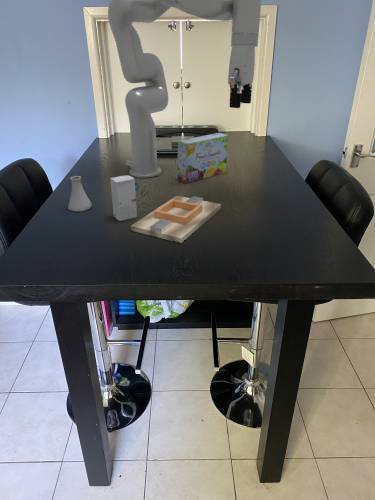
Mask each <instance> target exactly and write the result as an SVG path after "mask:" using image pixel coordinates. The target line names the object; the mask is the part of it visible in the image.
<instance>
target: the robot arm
mask: <svg viewBox="0 0 375 500" xmlns="http://www.w3.org/2000/svg"><path fill="white" fill-rule="evenodd" d="M261 7H262V0H110V1H109V4H108V9H107V17H108V18H107V19H108V23H109V26H110V30H111V33H112V35H113V38H114V42H115V45H116V51H117V54H118V58H119V64H120V67H121V72H122V75H123V77H124V79H125V81H126V82H128V83H130V84H141V83H143V84H144V86H137V87H134V88H132V89H130V90H129V91H128V92H127V93H126V95H125V97H124V98H125V101H124V102H125V108H126V112H127V115H128V121H129V130H130V133H129V134H130V141H131V142H130V145H131V158H132V159H127V160H126V162H125V166H127V167H130V169H129V171H128V172H129V176H131V177H133V178H134V177H135V178H139V179H140V178H143V179H144V178H145V179H146V178H153V177H157V176H159V175H160V174H162V168H160V167H159V166H158V159H157V158H158V157H157V156H158V155H157V152H158V151H157V135H156V134H157V133H156V131H157V130H156V124H155V121H154V119H153V117H152V114H154V113H158V112H162V111H164V110H166V108H167V106H168V105H169V91H168V86H167V82H166V77H165V75H166V74H165V71H164V66H163V63H162V61H161V60H160V58H159V57H158V56H157V55H156V54H154V53H150V52H144V51H143V47H142V42H141V38H140V36H139V34H138V32H137V30H136V28H135V27H134V25H133V23H146V24H148V23H153V22H155V21H157V20H158V19H160V18H161V17H162V16H163V15H164V14H165V13H166V12H167V11H168V10H169V9H171V8H174V9H177V10H179V11H182V12H183V13H186V14H188V15H191V16H194V17H198V18H200V19H203V20H207V21H220V22H229V21H231V40H230V47H231V50H230V56H229V64H228V65H229V66H228V77H227V83H228V85H229V108H231V109H241V104H248V105H249V104H251V102H252V92H253V90H252V89H253V82H254V77H255V66H256V63H255V62H256V61H255V58H256V48H257V47H258V46H259V33H260V31H259V30H260V21H261V11H262V10H261V9H262V8H261Z"/></svg>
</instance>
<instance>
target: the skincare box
mask: <svg viewBox="0 0 375 500" xmlns="http://www.w3.org/2000/svg"><path fill="white" fill-rule="evenodd" d="M109 182H110V189H111V190H110V191H111V200H112V212H113V217H114V218H115V219H116V220H117V221H118V222H121V221H122V222H123V221H126V220H130V219H135V218H137V217H138V214H137V213H138V212H137V211H138V210H137V197H136V191H135V188H136V185H135V183H136V181H135V178H134V176H132V175H130V174H127V175H120V176H115V177H110V179H109Z"/></svg>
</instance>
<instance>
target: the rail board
mask: <svg viewBox="0 0 375 500" xmlns="http://www.w3.org/2000/svg"><path fill="white" fill-rule="evenodd" d="M221 209H222V204H221V203H216V202H212V201H208V200H206V201H205V200H204V198H203V197H200V196H199V197H198V196H191V197H186V196H180V195H175V196H174V197H172V198H171V199H169V200H168V201H166V202H165V203H163V204H162V205H160V206H158V207H157V208H155V209H154V210H153V211H151V212H150V213H148V214H147V215H145V216H143V217H142V218H140V219H139V220H137V221H136V222H134V223H133V224H131V225H130V231H131V232H135V233H138V234H139V233H140V234H143V235H146V236H151V237H155V238H158V239H163V240H167V241H171V242H174V241H175V243H178V242H179V243H178V244H182V243H183V242H185V241H184V240H188V238H189V237H190V236H192V235H193V234H194V233H195V232H196V231H197V230H199V228H200V227H202V226H203V225H204V224H205V223H206V222H208V221H209V220H210V219H211V218H212V217H213V216H214V215H216V213H218V212H219V211H220V210H221ZM192 233H193V234H192Z"/></svg>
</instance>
